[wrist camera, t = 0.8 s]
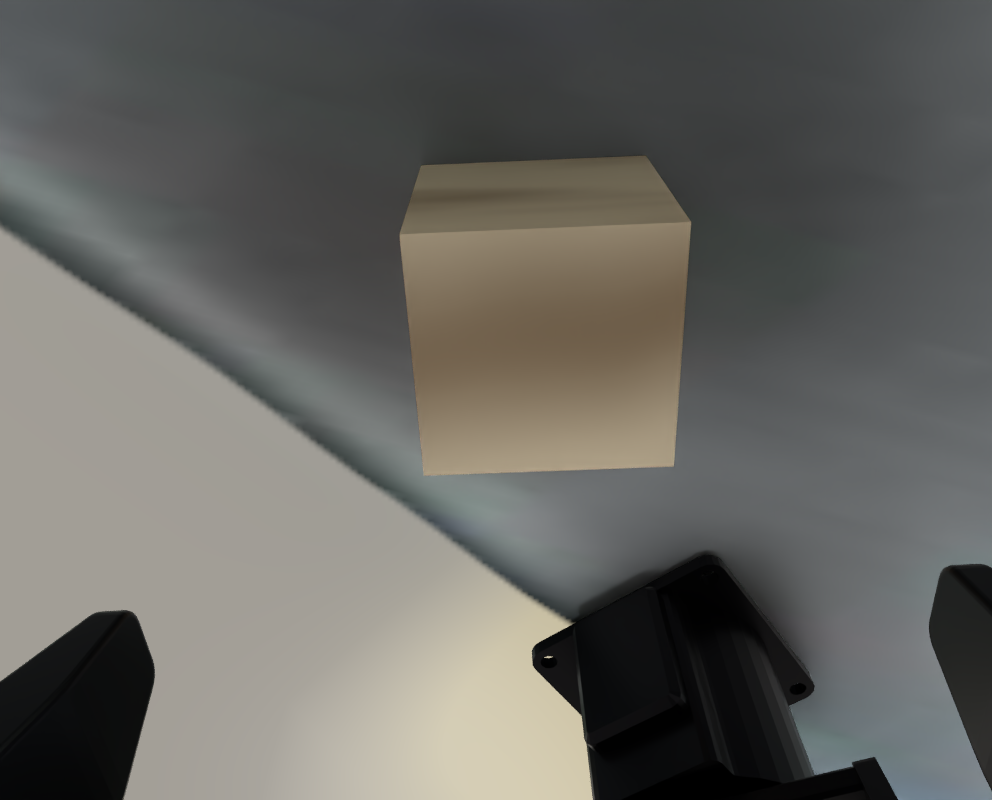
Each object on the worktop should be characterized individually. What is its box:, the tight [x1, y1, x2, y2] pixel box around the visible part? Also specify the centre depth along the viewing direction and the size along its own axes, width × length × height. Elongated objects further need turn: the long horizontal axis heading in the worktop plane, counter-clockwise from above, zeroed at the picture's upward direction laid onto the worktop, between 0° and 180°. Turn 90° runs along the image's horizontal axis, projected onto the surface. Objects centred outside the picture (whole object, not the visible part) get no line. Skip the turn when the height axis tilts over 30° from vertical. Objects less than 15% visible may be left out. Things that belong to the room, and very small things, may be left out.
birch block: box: [399, 156, 691, 476], centre depth 18 cm, size 5×5×5 cm
